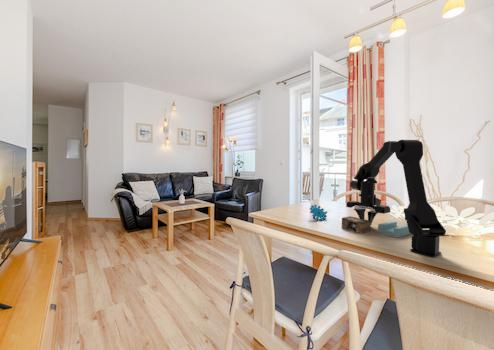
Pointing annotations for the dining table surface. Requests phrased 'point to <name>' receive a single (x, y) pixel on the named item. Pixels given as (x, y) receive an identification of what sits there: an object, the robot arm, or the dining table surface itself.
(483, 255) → the dining table surface
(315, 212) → the gear
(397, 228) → the cradle
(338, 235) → the dining table surface
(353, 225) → the axle
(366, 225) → the bearing block
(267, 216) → the dining table surface
